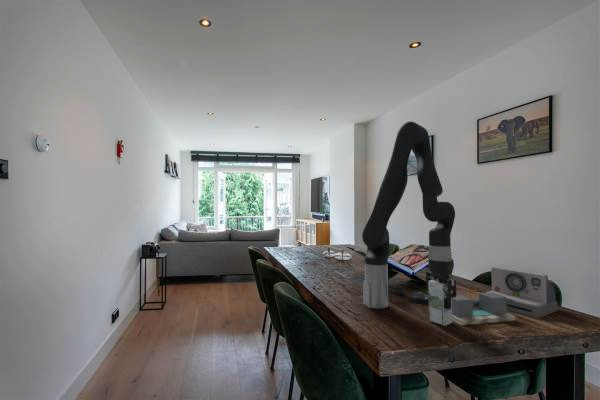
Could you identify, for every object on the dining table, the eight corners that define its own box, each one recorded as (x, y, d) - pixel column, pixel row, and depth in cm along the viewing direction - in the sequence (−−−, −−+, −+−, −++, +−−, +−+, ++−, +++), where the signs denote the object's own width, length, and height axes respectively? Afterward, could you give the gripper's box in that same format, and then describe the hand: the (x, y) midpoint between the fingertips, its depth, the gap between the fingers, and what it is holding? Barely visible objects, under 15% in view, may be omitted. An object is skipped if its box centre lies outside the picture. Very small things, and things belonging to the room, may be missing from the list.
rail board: (461, 325, 109) (460, 303, 109) (439, 313, 121) (438, 293, 121) (515, 320, 113) (515, 299, 114) (489, 309, 125) (489, 290, 125)
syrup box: (453, 322, 111) (452, 281, 112) (443, 326, 108) (442, 283, 108) (438, 318, 116) (437, 278, 116) (428, 321, 113) (427, 280, 113)
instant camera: (479, 303, 134) (478, 267, 134) (513, 297, 142) (512, 263, 142) (531, 319, 114) (530, 278, 115) (567, 312, 122) (567, 273, 122)
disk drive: (409, 303, 136) (446, 309, 127) (409, 296, 136) (446, 302, 127) (417, 297, 144) (452, 303, 135) (417, 291, 144) (452, 296, 135)
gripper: (418, 255, 119) (419, 300, 119) (443, 262, 105) (443, 312, 104) (436, 254, 120) (437, 298, 120) (463, 261, 106) (464, 311, 106)
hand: (440, 305), depth 112 cm, fingers closed on syrup box, 7 cm apart
